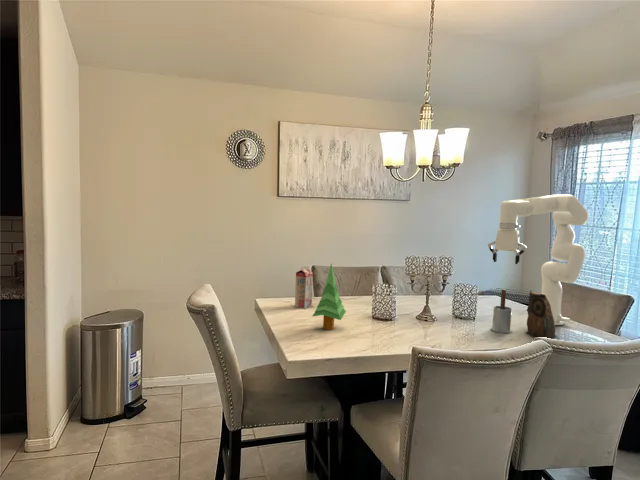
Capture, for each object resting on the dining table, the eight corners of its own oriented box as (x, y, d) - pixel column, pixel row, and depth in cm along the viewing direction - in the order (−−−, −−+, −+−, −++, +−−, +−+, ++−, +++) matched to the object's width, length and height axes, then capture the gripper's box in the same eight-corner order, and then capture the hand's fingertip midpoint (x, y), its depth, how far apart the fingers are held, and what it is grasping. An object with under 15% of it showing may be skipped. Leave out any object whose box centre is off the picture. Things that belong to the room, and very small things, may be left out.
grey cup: (511, 330, 215) (513, 307, 214) (508, 334, 208) (509, 310, 207) (494, 327, 219) (495, 305, 218) (490, 330, 213) (491, 307, 212)
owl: (546, 340, 199) (549, 296, 198) (517, 334, 208) (520, 291, 207) (556, 336, 208) (560, 293, 207) (528, 329, 217) (531, 288, 216)
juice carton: (311, 306, 249) (313, 266, 247) (304, 308, 243) (306, 267, 242) (301, 304, 252) (303, 265, 251) (294, 306, 247) (296, 266, 245)
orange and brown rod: (506, 329, 214) (509, 289, 213) (504, 330, 211) (507, 290, 209) (497, 327, 216) (500, 288, 215) (495, 329, 213) (498, 289, 212)
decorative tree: (348, 332, 200) (351, 265, 198) (313, 332, 197) (316, 264, 195) (342, 324, 213) (345, 261, 211) (309, 324, 211) (311, 260, 208)
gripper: (529, 227, 212) (526, 263, 213) (490, 225, 222) (488, 260, 223) (526, 228, 206) (523, 265, 207) (487, 226, 215) (485, 261, 217)
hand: (505, 262), depth 215 cm, fingers open, 9 cm apart
